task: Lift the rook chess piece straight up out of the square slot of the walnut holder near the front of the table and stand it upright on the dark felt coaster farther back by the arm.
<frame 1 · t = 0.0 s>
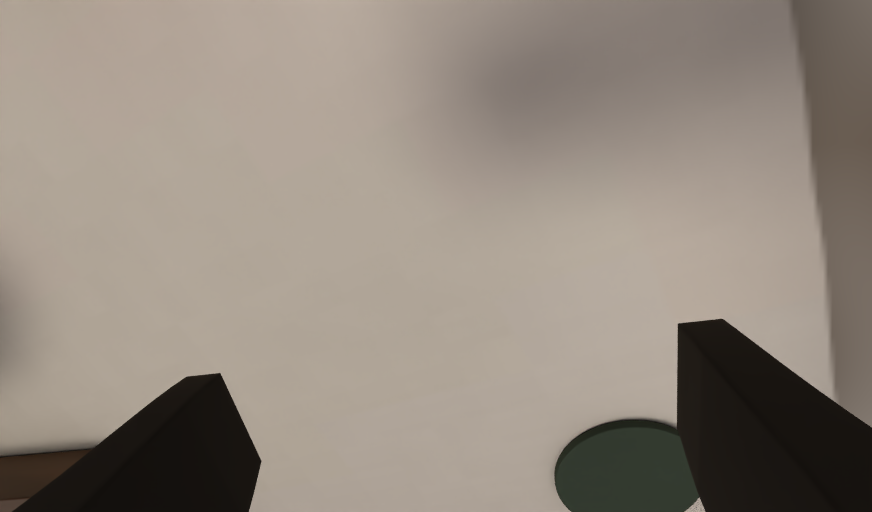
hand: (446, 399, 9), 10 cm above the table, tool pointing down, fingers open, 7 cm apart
coaster: (627, 473, 24), on the table
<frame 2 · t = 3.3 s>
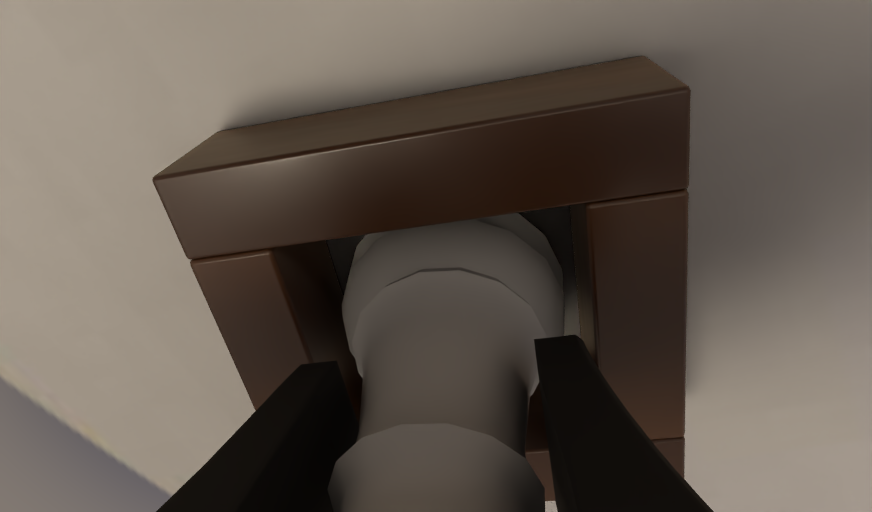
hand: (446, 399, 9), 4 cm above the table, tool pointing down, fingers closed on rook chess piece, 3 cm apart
holder: (455, 281, 12), on the table
rook chess piece: (456, 277, 12), resting in holder, touching gripper
when the fingers open (4 cm above the table, at t = 8.6 s): rook chess piece stays where it is, resting on coaster.
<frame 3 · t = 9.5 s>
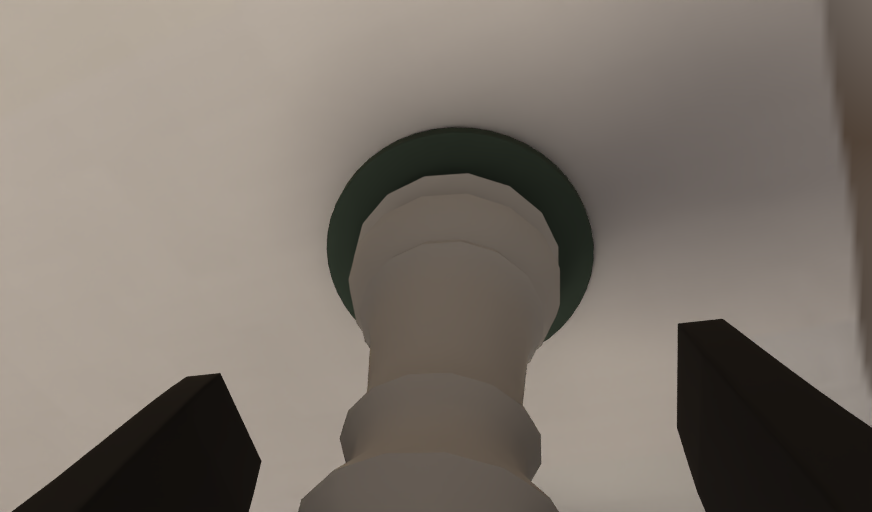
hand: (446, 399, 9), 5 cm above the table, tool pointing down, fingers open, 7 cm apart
coaster: (458, 254, 13), on the table
rook chess piece: (457, 254, 13), resting on coaster
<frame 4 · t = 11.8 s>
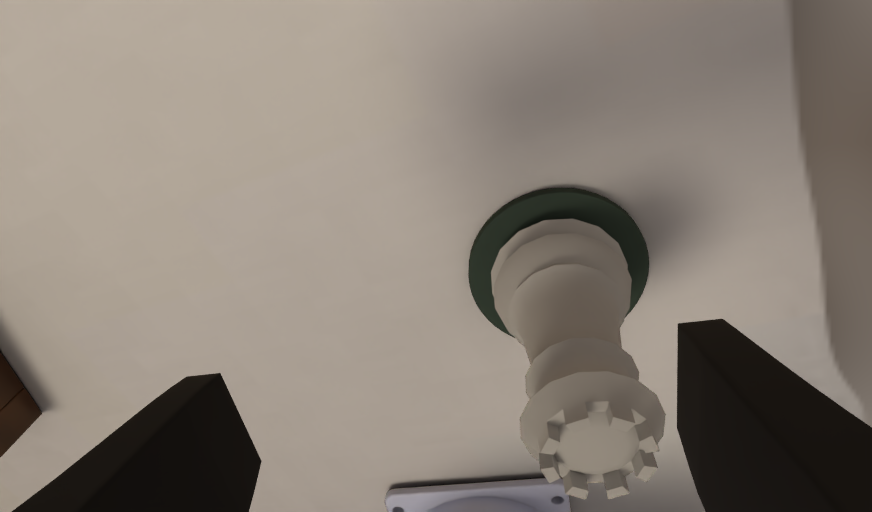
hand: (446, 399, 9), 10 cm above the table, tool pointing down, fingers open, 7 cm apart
coaster: (556, 268, 20), on the table
rook chess piece: (556, 269, 19), resting on coaster
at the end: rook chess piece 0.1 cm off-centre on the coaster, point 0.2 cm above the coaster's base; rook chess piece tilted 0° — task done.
